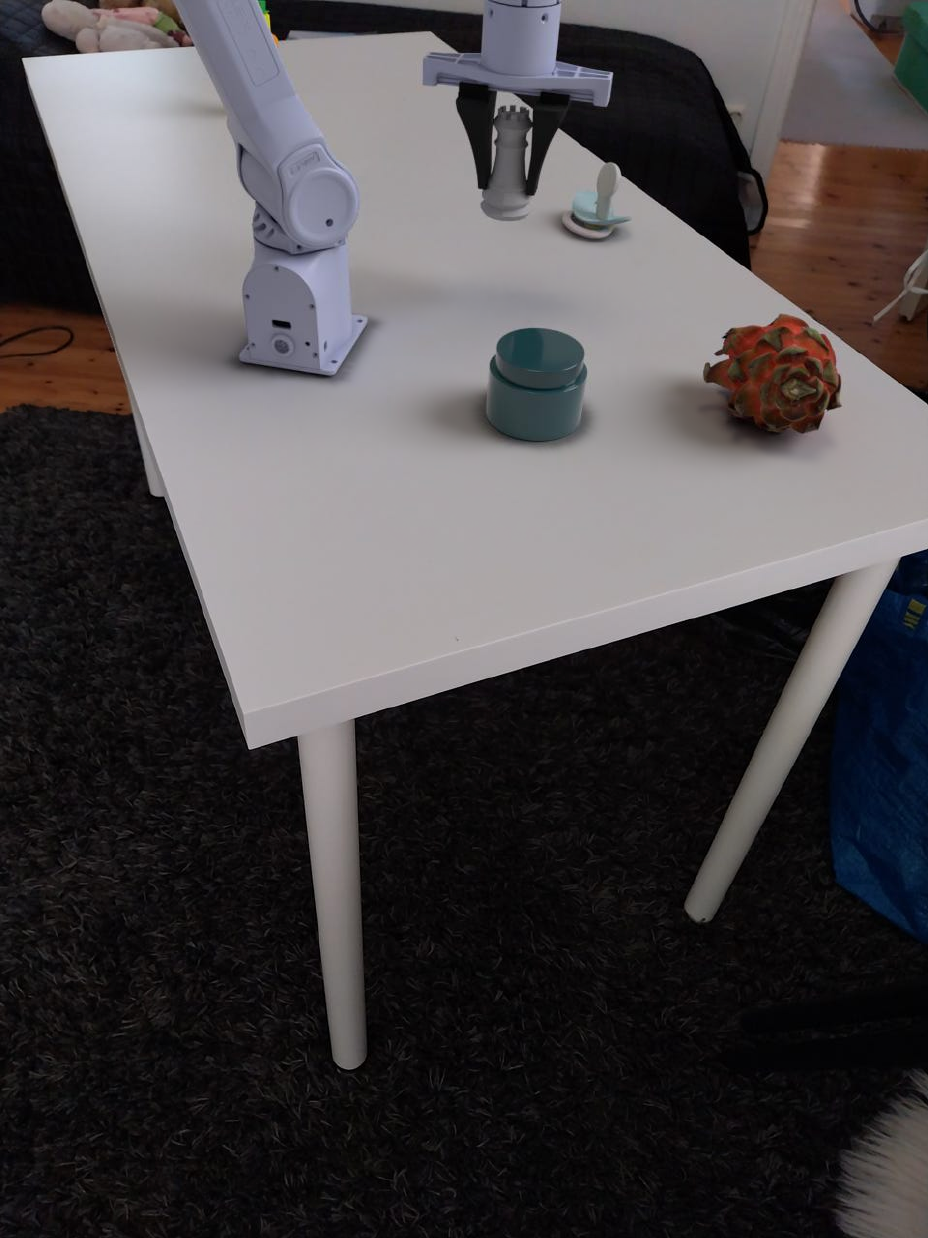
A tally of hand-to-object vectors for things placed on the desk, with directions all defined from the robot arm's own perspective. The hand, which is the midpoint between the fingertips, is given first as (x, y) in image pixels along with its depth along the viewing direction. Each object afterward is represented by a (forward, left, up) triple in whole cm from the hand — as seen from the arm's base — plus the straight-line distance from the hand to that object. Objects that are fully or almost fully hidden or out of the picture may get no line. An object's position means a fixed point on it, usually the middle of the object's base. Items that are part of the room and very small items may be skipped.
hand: (508, 188), depth 80 cm
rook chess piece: (0, 0, -2) cm, 2 cm away
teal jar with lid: (-18, -6, -10) cm, 22 cm away
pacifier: (+18, -6, -10) cm, 21 cm away
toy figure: (+39, +34, -9) cm, 53 cm away
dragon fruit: (-13, -23, -10) cm, 28 cm away
